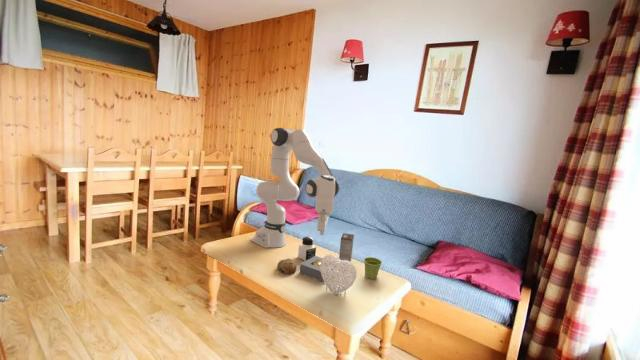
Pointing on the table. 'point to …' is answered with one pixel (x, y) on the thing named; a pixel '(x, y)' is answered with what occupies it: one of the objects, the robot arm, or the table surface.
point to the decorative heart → (337, 274)
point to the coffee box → (346, 247)
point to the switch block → (312, 268)
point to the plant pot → (372, 267)
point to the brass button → (317, 263)
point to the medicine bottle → (306, 249)
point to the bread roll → (286, 266)
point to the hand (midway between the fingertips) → (322, 234)
